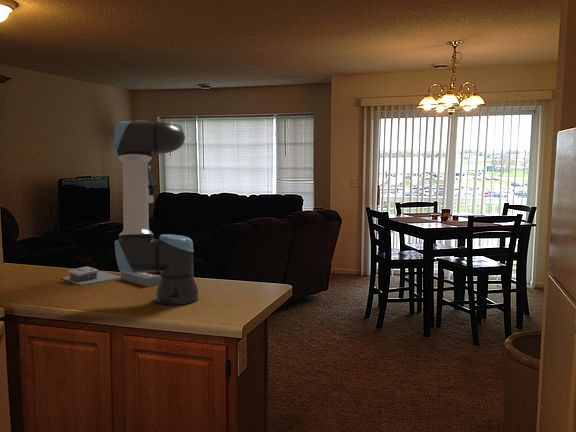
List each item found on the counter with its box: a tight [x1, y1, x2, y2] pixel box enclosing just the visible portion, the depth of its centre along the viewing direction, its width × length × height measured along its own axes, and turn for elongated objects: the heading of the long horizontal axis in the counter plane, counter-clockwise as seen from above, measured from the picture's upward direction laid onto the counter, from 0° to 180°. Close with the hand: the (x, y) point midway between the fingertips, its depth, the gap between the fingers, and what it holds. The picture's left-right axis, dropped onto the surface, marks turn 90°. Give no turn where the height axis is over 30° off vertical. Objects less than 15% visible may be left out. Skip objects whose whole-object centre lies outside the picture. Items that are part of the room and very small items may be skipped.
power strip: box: [120, 271, 161, 288], centre depth 210 cm, size 20×6×4 cm, turn 47°
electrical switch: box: [67, 266, 100, 282], centre depth 212 cm, size 9×5×9 cm
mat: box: [61, 270, 122, 287], centre depth 216 cm, size 18×18×1 cm
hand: (142, 202), depth 231 cm, fingers open, 13 cm apart
